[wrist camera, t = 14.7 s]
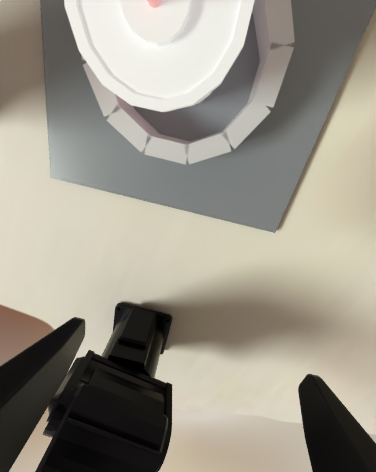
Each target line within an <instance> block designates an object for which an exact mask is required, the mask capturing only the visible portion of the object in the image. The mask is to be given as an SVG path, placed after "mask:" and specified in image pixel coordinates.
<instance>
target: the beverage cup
mask: <svg viewBox="0 0 376 472" xmlns="http://www.w3.org/2000/svg"><path fill="white" fill-rule="evenodd" d="M254 1H255V0H64V6H65V9H66V12H67V16H68V19H69V22H70V25H71V28H72V31H73V34H74V37H75V40H76V43H77V46H78V50H79V52H80V53H81V55H82V56H83V58H84V59H85V60H86V62H87V63H88V65H89V66H90V68H91V69H92V71H93V72H94V74H95V75H96V76H97V78H98V79H99V81H100V82H101V84H102V85H103V86H105V87H106V88H108V89H109V90H110V91H112V92H113V93H114V94H116V95H117V96H119V97H120V98H121V99H123V100H124V101H126V102H127V103H128V104H130V105H132V106H137V107H141V108H146V109H151V110H155V111H160V112H168V111H172V110H176V109H180V108H184V107H189V106H193V105H195V104H198V103H200V102H201V101H203V100H204V99H205V98H206V97H208V96H209V95H210V94H211V92H212V91H213V90H214V89H216V88H217V87H218V86H219V85H220V84H221V83H222V81H223V80H224V78H225V76H226V75H227V73H228V71H229V70H230V68H231V66H232V65H233V63H234V61H235V60H236V58H237V56H238V55H239V53H240V51H241V50H242V48H243V46H244V42H245V38H246V34H247V30H248V26H249V21H250V17H251V13H252V9H253V5H254Z"/></svg>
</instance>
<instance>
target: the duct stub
mask: <svg viewBox="0 0 376 472" xmlns="http://www.w3.org/2000/svg"><path fill="white" fill-rule="evenodd" d="M40 2H41V20H42V37H43V54H44V72H45V89H46V107H47V124H48V141H49V159H50V176H51V178H54V179H58V180H62V181H67V182H71V183H75V184H79V185H83V186H87V187H91V188H95V189H99V190H103V191H107V192H111V193H115V194H119V195H123V196H128V197H132V198H136V199H140V200H144V201H148V202H152V203H156V204H160V205H164V206H168V207H172V208H176V209H180V210H184V211H188V212H193V213H197V214H201V215H205V216H209V217H213V218H217V219H221V220H225V221H229V222H233V223H237V224H241V225H245V226H249V227H254V228H258V229H262V230H266V231H270V232H274V233H275V232H276V230H277V227H278V225H279V223H280V221H281V218H282V216H283V214H284V212H285V209H286V207H287V205H288V203H289V200H290V198H291V196H292V194H293V191H294V189H295V187H296V185H297V182H298V180H299V178H300V176H301V173H302V171H303V169H304V167H305V164H306V162H307V160H308V158H309V155H310V153H311V151H312V149H313V146H314V144H315V142H316V140H317V137H318V135H319V133H320V131H321V128H322V126H323V124H324V122H325V119H326V117H327V115H328V113H329V110H330V108H331V106H332V104H333V101H334V99H335V97H336V95H337V92H338V90H339V88H340V86H341V84H342V81H343V79H344V77H345V75H346V72H347V70H348V68H349V66H350V63H351V61H352V59H353V57H354V54H355V52H356V50H357V48H358V45H359V43H360V41H361V39H362V36H363V34H364V32H365V30H366V27H367V25H368V23H369V21H370V18H371V16H372V14H373V12H374V9H375V7H376V0H255V1H254V5H253V9H252V13H251V17H250V21H249V26H248V30H247V34H246V38H245V42H244V46H243V48H242V50H241V51H240V53H239V55H238V56H237V58H236V60H235V61H234V63H233V65H232V66H231V68H230V70H229V71H228V73H227V75H226V76H225V78H224V80H223V81H222V83H221V84H220V85H219V86H218V87H217V88H216V89H214V90H213V91H212V92H211V94H210V95H209V96H208V97H206V98H205V99H204V100H203V101H201V102H200V103H198V104H195V105H193V106H189V107H184V108H180V109H176V110H172V111H168V112H160V111H155V110H151V109H146V108H141V107H137V106H132V105H130V104H128V103H127V102H126V101H124V100H123V99H121V98H120V97H119V96H117V95H116V94H114V93H113V92H112V91H110V90H109V89H108V88H106V87H105V86H103V85H102V84H101V82H100V81H99V79H98V78H97V76H96V75H95V74H94V72H93V71H92V69H91V68H90V66H89V65H88V63H87V62H86V60H85V59H84V58H83V56H82V55H81V53H80V52H79V50H78V46H77V43H76V40H75V37H74V34H73V31H72V28H71V25H70V22H69V19H68V16H67V12H66V9H65V6H64V0H40Z"/></svg>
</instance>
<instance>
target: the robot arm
mask: <svg viewBox="0 0 376 472" xmlns="http://www.w3.org/2000/svg"><path fill="white" fill-rule="evenodd" d="M119 307H120V308H119ZM167 319H169V320H167ZM171 322H172V317H171V316H170V315H167V314H163V313H159V312H155V311H151V310H147V309H143V308H139V307H134V306H130V305H126V304H122V303H118V304H117V305H116V308H115V316H114V326H113V333H112V335H111V338H110V340H109V342H108V344H107V346H106V348H105V350H104V352H103V354H102V356H100V355H98V354H95V353H94V352H93V351H91V350H89V351H88V353H87V354H86V356H85V357H84V356H83V357H80V358H76V360H75V362H74V363H73V365H72V367H71V369H70V370H69V368H70V366H71V364H72V362H73V360H74V358H75V356H76V353H77V351H78V349H79V347H80V345H81V343H82V341H83V339H84V336H85V320H84V319H81V318H77V317H74V318H72V319H70V320H69V321H67V322H66V323H64V324H63V325H61V326H60V327H58V328H57V329H55V330H54V331H52V332H51V333H49V334H48V335H46V336H45V337H44V338H42V339H40V340H39V341H38V342H36V343H34V344H33V345H31V346H30V347H28V348H27V349H25V350H24V351H22V352H21V353H19V354H18V355H16V356H15V357H14V358H12V359H10V360H9V361H8V362H6V363H4V364H3V365H1V366H0V472H9V470H10V469H11V467H12V465H13V464H14V462H15V460H16V459H17V457H18V455H19V454H20V452H21V450H22V449H23V447H24V445H25V444H26V442H27V440H28V439H29V437H30V435H31V434H32V432H33V430H34V429H35V427H36V425H37V424H38V422H39V420H40V419H41V417H42V415H43V414H44V412H45V410H46V409H47V407H48V411H49V417H48V419H47V422H49V423H48V425H47V427H46V428H45V430H44V432H43V435H45V436H48V437H52V440H51V442H50V444H49V446H48V448H47V450H46V452H45V454H44V456H43V458H42V460H41V462H40V464H39V466H38V468H37V470H36V471H35V472H158V471H159V470H160V468H161V466H162V464H163V461H164V459H165V456H166V453H167V450H168V446H169V442H170V437H171V429H172V384H170V383H165V382H162V381H160V380H157V379H155V378H154V377H155V373H156V369H157V365H158V360H159V356H160V354H163V352H164V348H165V344H166V341H167V337H168V333H169V329H170V325H171ZM68 370H69V372H68ZM67 372H68V374H67ZM66 374H67V375H66ZM65 376H66V377H65ZM298 392H299V399H300V406H301V414H302V421H303V428H304V433H305V439H306V444H307V448H308V453H309V457H310V461H311V466H312V470H313V472H376V443H375V442H374V441H373V440H372V438H371V437H370V436H369V435H368V434H367V432H366V431H365V430H364V429H363V428H362V426H361V425H360V424H359V423H358V422H357V420H356V419H355V418H354V417H353V416H352V414H351V413H350V412H349V411H348V410H347V408H346V407H345V406H344V405H343V404H342V402H341V401H340V400H339V399H338V398H337V396H336V395H335V394H334V393H333V392H332V390H331V389H330V388H329V387H328V386H327V384H326V383H325V382H324V381H323V380H322V378H320V377H319V376H317V375H312V374H308V375H307V376H306V377H305V378H304V380H303V381H302V382H301V383H300V385H299V389H298Z"/></svg>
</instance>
